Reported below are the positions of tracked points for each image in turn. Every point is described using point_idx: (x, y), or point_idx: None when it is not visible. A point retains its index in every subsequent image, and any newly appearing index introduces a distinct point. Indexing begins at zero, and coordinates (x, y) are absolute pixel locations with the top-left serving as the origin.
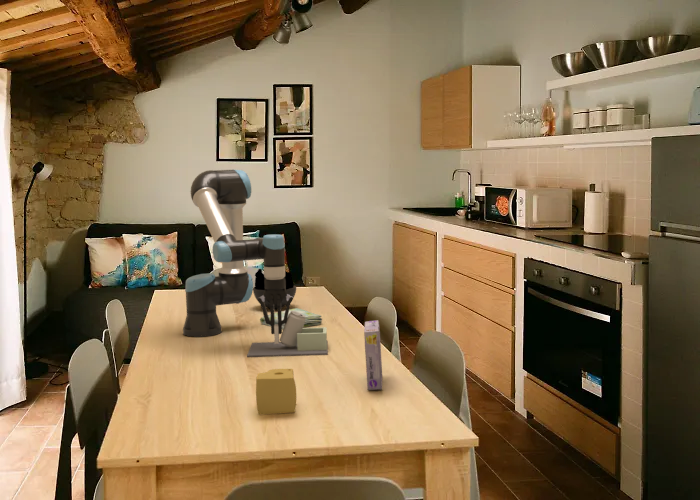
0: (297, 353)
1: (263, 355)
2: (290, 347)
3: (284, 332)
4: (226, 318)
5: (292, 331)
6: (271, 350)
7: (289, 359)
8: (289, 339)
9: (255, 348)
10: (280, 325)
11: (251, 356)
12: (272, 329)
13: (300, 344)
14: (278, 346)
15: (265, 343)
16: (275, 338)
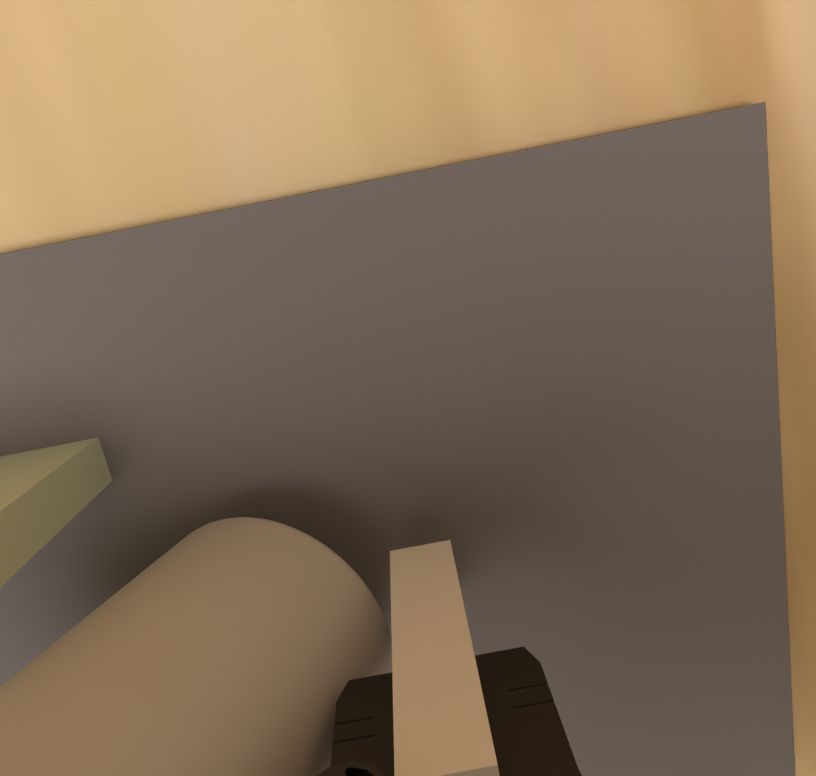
0: (40, 277)
1: (522, 150)
2: None
3: (264, 670)
4: None
5: (65, 667)
6: (470, 428)
7: (82, 5)
8: (187, 564)
9: (710, 519)
10: (322, 773)
11: (692, 116)
12: (529, 720)
13: (7, 480)
14: None
15: (629, 764)
16: (443, 588)
